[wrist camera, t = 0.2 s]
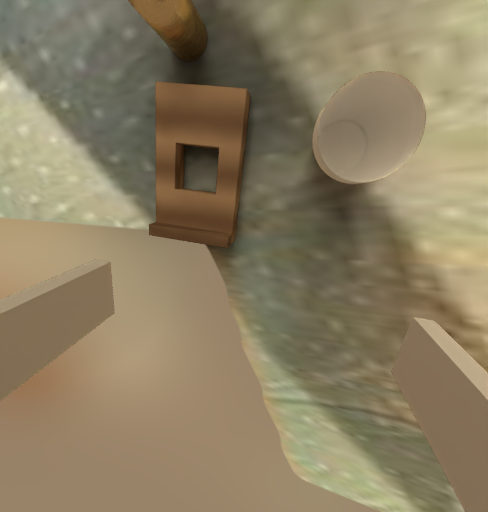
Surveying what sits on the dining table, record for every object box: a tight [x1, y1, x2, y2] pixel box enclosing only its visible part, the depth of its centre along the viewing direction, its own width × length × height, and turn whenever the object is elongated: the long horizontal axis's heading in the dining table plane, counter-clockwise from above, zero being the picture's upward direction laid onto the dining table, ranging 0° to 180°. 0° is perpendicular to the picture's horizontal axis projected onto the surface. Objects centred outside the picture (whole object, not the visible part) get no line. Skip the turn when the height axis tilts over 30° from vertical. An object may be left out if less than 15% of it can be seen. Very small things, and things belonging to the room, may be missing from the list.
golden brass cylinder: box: [128, 0, 207, 61], centre depth 27 cm, size 5×5×10 cm
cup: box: [312, 71, 426, 184], centre depth 26 cm, size 9×9×12 cm
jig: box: [149, 82, 251, 248], centre depth 34 cm, size 20×12×5 cm, turn 173°
